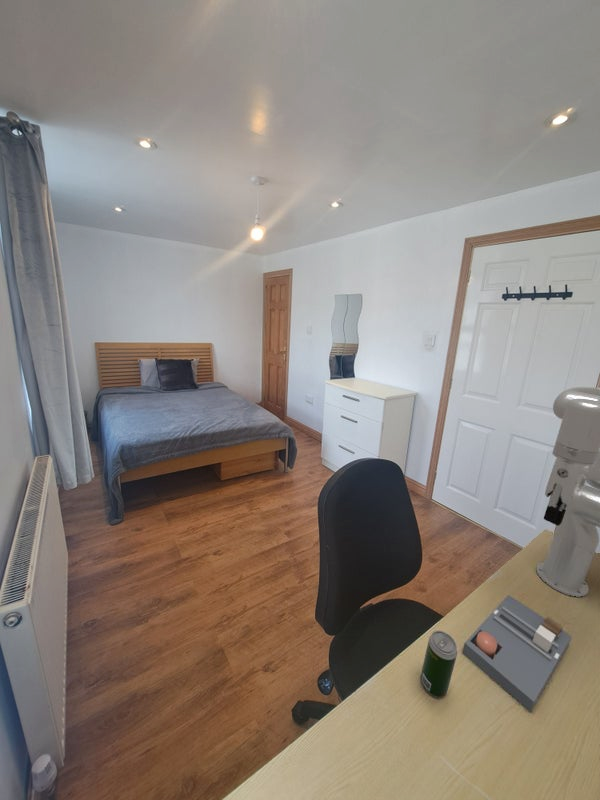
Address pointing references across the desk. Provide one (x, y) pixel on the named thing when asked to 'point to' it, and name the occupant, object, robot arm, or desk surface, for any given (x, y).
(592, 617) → the desk surface
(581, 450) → the robot arm
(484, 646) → the push button
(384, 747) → the desk surface
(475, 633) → the console
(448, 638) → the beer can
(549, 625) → the rocker
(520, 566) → the desk surface
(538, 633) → the slider knob
